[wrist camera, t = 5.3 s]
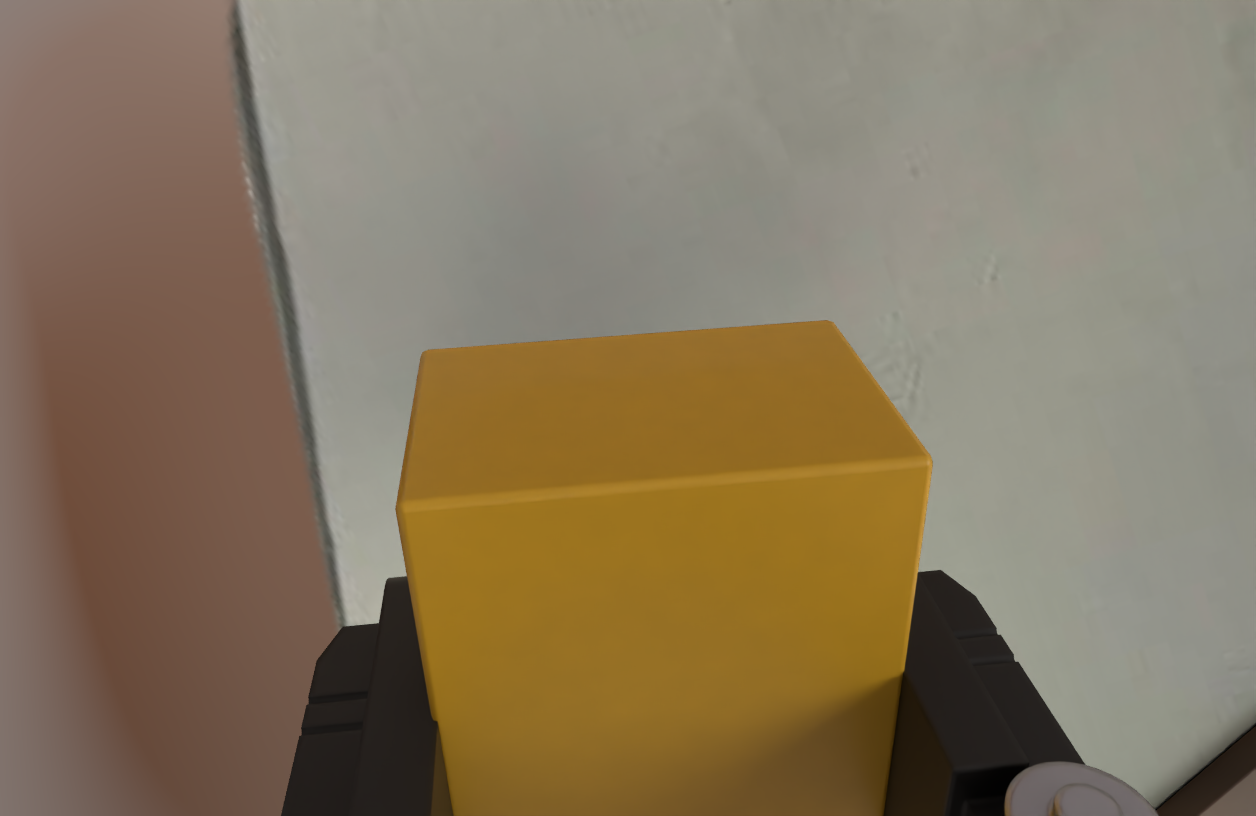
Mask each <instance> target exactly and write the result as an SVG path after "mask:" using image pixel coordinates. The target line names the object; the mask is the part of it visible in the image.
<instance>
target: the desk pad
mask: <svg viewBox="0 0 1256 816" xmlns="http://www.w3.org/2000/svg"><path fill="white" fill-rule="evenodd" d="M1156 812H1157V814H1158V815H1159V816H1256V726H1255V727H1254V728H1253V729H1252V730H1250V731H1249V732H1248V733H1247V734H1246V735H1244V736H1243V737H1242V738H1241V739H1240V740H1239V741H1237V742H1236V743H1235V744H1234V745H1233V746H1232V747H1230V748H1229V749H1228V750H1227V751H1226V752H1224V753H1223V754H1222V755H1221V756H1220V757H1219V758H1217V759H1216V760H1215V761H1214V762H1213V763H1211V764H1210V765H1209V766H1208V767H1207V768H1206V769H1204V770H1203V771H1202V772H1201V773H1200V774H1199V775H1197V776H1196V777H1195V778H1194V779H1193V780H1191V781H1190V782H1189V783H1188V784H1187V785H1186V786H1184V787H1183V788H1182V789H1181V790H1180V791H1179V792H1177V793H1176V794H1175V795H1174V796H1173V797H1171V798H1170V799H1169V800H1168V801H1167V802H1166V803H1164V804H1163V805H1162V806H1161V807H1160V808H1158V809H1157V810H1156Z"/></svg>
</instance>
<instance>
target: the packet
mask: <svg viewBox="0 0 1256 816" xmlns="http://www.w3.org/2000/svg"><path fill="white" fill-rule="evenodd" d="M932 466H933V461H932V458H931V456H930V454H929V453H928V452H927V450H926V449H925V447H924V446H923V445H922V443H921V442H920V441H919V439H918V438H917V436H916V435H915V434H914V432H913V431H912V430H911V428H910V427H909V425H908V424H907V423H906V421H905V420H904V419H903V417H902V416H901V414H900V413H899V412H898V410H897V409H896V408H895V406H894V405H893V403H892V402H891V401H890V399H889V398H888V397H887V395H886V394H885V392H884V391H883V390H882V388H881V387H880V386H879V384H878V383H877V381H876V380H875V379H874V377H873V376H872V375H871V373H870V372H869V370H868V369H867V368H866V366H865V365H864V364H863V362H862V361H861V359H860V358H859V357H858V355H857V354H856V353H855V351H854V350H853V348H852V347H851V346H850V344H849V343H848V342H847V340H846V339H845V337H844V336H843V335H842V333H841V332H840V331H839V329H838V328H837V326H836V325H835V324H834V322H831V321H828V320H823V321H810V322H796V323H783V324H769V325H756V326H742V327H729V328H715V329H702V330H688V331H675V332H661V333H648V334H634V335H621V336H607V337H594V338H580V339H567V340H553V341H540V342H526V343H513V344H499V345H486V346H472V347H459V348H445V349H432V350H427V351H424V352H422V355H421V358H420V364H419V370H418V376H417V382H416V388H415V394H414V400H413V406H412V412H411V418H410V424H409V430H408V436H407V442H406V448H405V454H404V460H403V466H402V472H401V478H400V484H399V490H398V496H397V502H396V508H395V509H396V515H397V521H398V526H399V532H400V538H401V544H402V550H403V555H404V561H405V567H406V573H407V579H408V584H409V590H410V596H411V602H412V607H413V613H414V619H415V625H416V631H417V636H418V642H419V648H420V654H421V660H422V665H423V671H424V677H425V683H426V688H427V694H428V700H429V706H430V712H431V716H432V718H433V720H434V721H438V727H439V733H440V739H441V745H442V751H443V757H444V763H445V769H446V775H447V781H448V787H449V792H450V798H451V804H452V810H453V816H883V815H884V808H885V801H886V793H887V786H888V779H889V772H890V764H891V757H892V750H893V743H894V736H895V728H896V721H897V714H898V707H899V699H900V692H901V685H902V678H903V672H904V669H905V661H906V654H907V647H908V640H909V633H910V625H911V618H912V611H913V604H914V596H915V589H916V582H917V575H918V568H919V560H920V553H921V546H922V539H923V531H924V524H925V517H926V510H927V503H928V495H929V488H930V481H931V474H932Z"/></svg>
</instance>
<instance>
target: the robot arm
mask: <svg viewBox="0 0 1256 816" xmlns="http://www.w3.org/2000/svg"><path fill="white" fill-rule="evenodd" d="M996 629H997V628H996V627H995V625H994V624H993V622H992V621H991V619H990V618H989V616H988V614H987V613H986V611H985V610H984V608H983V607H982V605H981V604H980V602H979V601H978V599H977V598H976V596H975V595H973V594H972V593H971V592H969V591H968V590H967V589H965V588H964V587H963V586H961V585H960V584H959V583H957V582H956V581H955V580H953V579H952V578H951V577H949V576H948V575H947V574H945V573H944V572H943V571H941V570H936V571H926V572H918V575H917V582H916V589H915V596H914V604H913V611H912V618H911V625H910V633H909V640H908V647H907V654H906V661H905V669H904V672H903V678H902V685H901V692H900V699H899V707H898V714H897V721H896V728H895V736H894V743H893V750H892V757H891V764H890V772H889V779H888V786H887V793H886V801H885V808H884V815H883V816H1159V815H1158V814H1157V812H1156V810H1155V809H1154V808H1153V807H1152V806H1151V805H1150V803H1149V802H1148V801H1147V800H1146V799H1145V798H1144V797H1143V796H1142V795H1140V794H1139V793H1138V792H1137V791H1136V790H1135V789H1133V788H1132V787H1131V786H1129V785H1128V784H1126V783H1125V782H1123V781H1122V780H1120V779H1118V778H1116V777H1115V776H1113V775H1111V774H1109V773H1106V772H1104V771H1102V770H1099V769H1097V768H1093V767H1090V766H1087V765H1085V763H1084V762H1083V761H1082V759H1081V758H1080V756H1079V755H1078V753H1077V751H1076V750H1075V748H1074V747H1073V745H1072V744H1071V742H1070V741H1069V739H1068V738H1067V736H1066V734H1065V733H1064V731H1063V730H1062V728H1061V727H1060V725H1059V724H1058V722H1057V721H1056V719H1055V718H1054V716H1053V714H1052V713H1051V711H1050V710H1049V708H1048V707H1047V705H1046V704H1045V702H1044V701H1043V699H1042V698H1041V696H1040V694H1039V693H1038V691H1037V690H1036V688H1035V687H1034V685H1033V684H1032V682H1031V681H1030V679H1029V678H1028V676H1027V674H1026V673H1025V671H1024V670H1023V668H1022V667H1021V665H1020V664H1019V662H1015V661H1014V654H1013V653H1012V651H1011V650H1010V648H1009V647H1008V645H1007V644H1006V642H1005V641H1004V639H1003V638H1002V636H1001V635H998V634H997V631H996ZM308 698H309V704H308V705H307V706H306V710H305V714H304V719H303V723H302V727H301V729H302V735H301V736H299V740H298V744H297V749H296V753H295V757H294V762H293V767H292V771H291V775H290V779H289V783H288V788H287V792H286V796H285V801H284V806H283V810H282V814H281V816H453V810H452V804H451V798H450V792H449V787H448V781H447V775H446V769H445V763H444V757H443V751H442V745H441V739H440V733H439V727H438V721H434V720H433V718H432V716H431V712H430V706H429V700H428V694H427V688H426V683H425V677H424V671H423V665H422V660H421V654H420V648H419V642H418V636H417V631H416V625H415V619H414V613H413V607H412V602H411V596H410V590H409V584H408V579H407V576H404V577H394V578H388V579H387V581H386V584H385V589H384V595H383V601H382V608H381V614H380V620H379V623H377V624H367V625H356V626H346V627H342V629H341V630H340V631H339V632H338V634H337V635H336V636H335V638H334V639H333V640H332V642H331V643H330V644H329V645H328V647H327V648H326V649H325V651H324V652H323V653H322V655H321V656H320V657H319V658H318V660H317V662H316V667H315V671H314V675H313V680H312V684H311V688H310V693H309V697H308Z"/></svg>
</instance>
